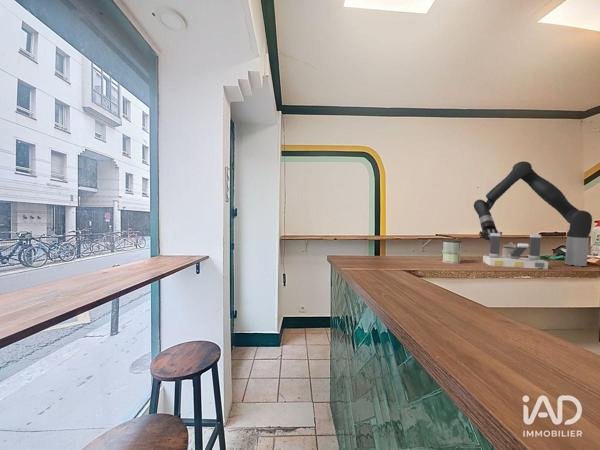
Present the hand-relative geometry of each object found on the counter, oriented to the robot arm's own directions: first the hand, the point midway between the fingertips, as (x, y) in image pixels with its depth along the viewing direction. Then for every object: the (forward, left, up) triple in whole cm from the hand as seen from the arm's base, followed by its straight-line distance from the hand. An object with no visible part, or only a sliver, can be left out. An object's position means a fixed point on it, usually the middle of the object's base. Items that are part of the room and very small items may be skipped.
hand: (493, 244), depth 165 cm
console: (-6, +8, -12) cm, 16 cm away
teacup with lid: (-27, -3, -12) cm, 30 cm away
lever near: (-13, +16, -8) cm, 22 cm away
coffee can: (+19, -15, -12) cm, 27 cm away
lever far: (+1, +1, -8) cm, 8 cm away
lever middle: (-6, +8, -7) cm, 12 cm away
